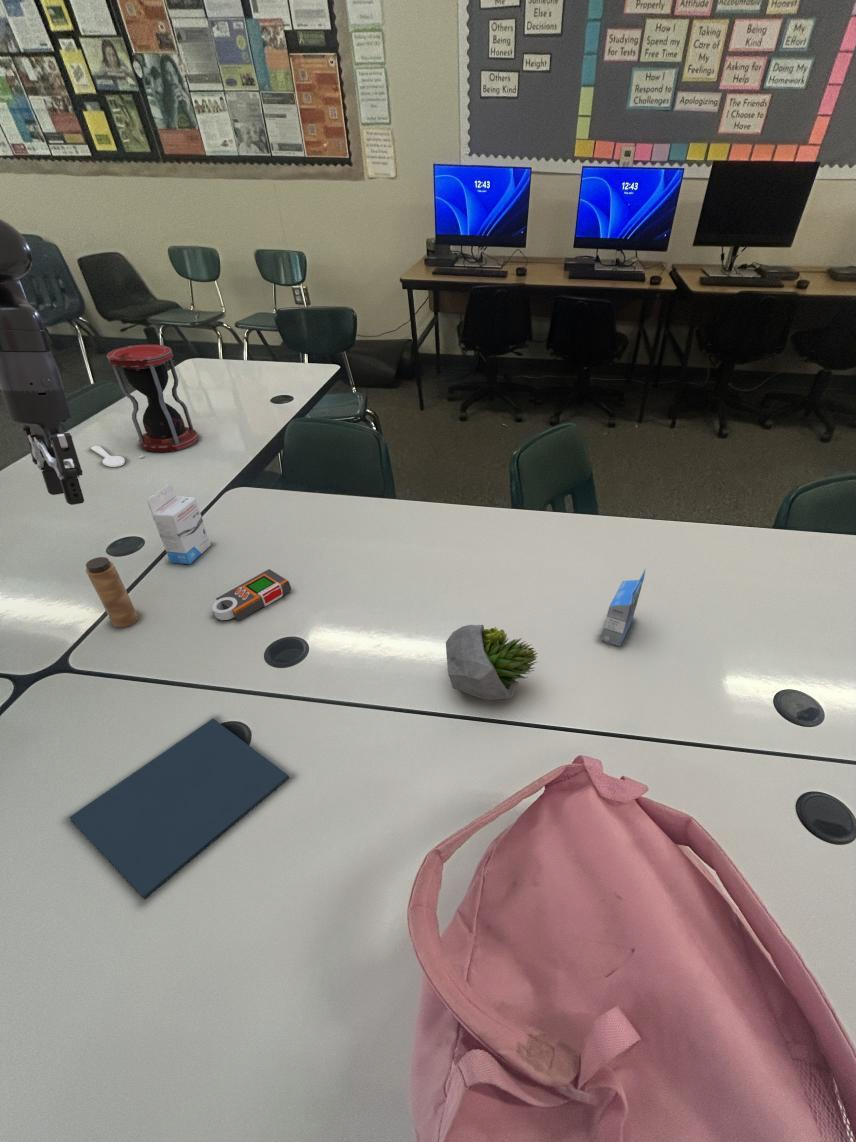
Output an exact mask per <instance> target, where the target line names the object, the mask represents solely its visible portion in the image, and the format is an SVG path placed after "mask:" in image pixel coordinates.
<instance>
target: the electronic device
mask: <svg viewBox="0 0 856 1142" xmlns="http://www.w3.org/2000/svg"><path fill="white" fill-rule="evenodd" d="M290 591H292V587H291V583H290V581H289V580H288V579H286V578H285V577H283V575H281V574H279V573H277V572H275V571H274V570H271V569H270V568H268V569H266V570H264V571H263V572H261V573H260V574H257V575H256V576H254V577H251V579H248V580H246V581H244V582H243V583H241V584H239V585H237V586H236V587H234V588H232V589H230V590H229V591H227V592H225V593H223V594H221V595H219V596H218V597H216V598H215V601H214V602H213V603H212V604H211V610H212V613H213V615H214V617H215V618H216V619H217V620H219V621H226V620H227V621H228V620H231V619H236V621H238V622H239V621H241V620H243V619H245V618H247V617H249V616H250V615H252V614H253V613H255V612H256V611H259V610H260V609H261V608H264V607H265V608H266V607H267V606H269V605H271V604H272V603H274V602H276V601H277V600H279V599H281V598H282V597H283V596H284V595H285V594H287V593H289V592H290Z"/></svg>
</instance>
